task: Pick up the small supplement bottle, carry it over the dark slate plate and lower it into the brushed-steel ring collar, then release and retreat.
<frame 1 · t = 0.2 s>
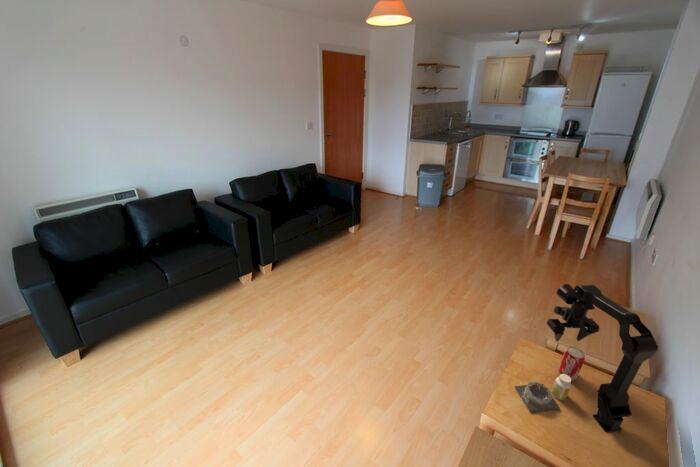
hand: (567, 340, 140), 14 cm above the table, fingers open, 9 cm apart
soda can: (566, 374, 142), on the table
supplement bottle: (558, 394, 133), on the table
collar: (536, 398, 131), on the table
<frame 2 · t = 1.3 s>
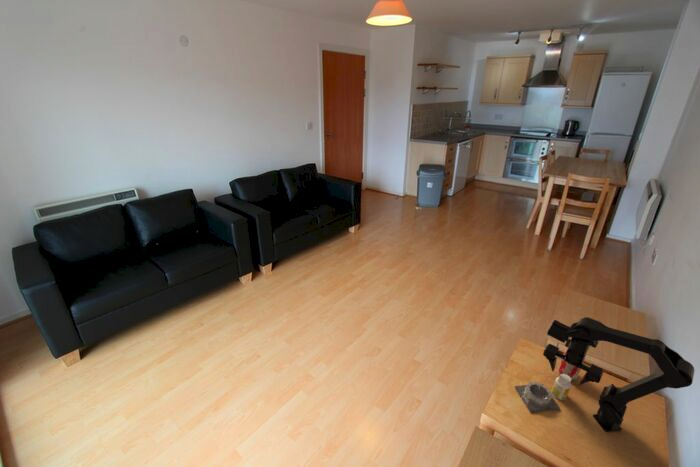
hand: (565, 377, 128), 10 cm above the table, fingers open, 9 cm apart
nothing on the table moved.
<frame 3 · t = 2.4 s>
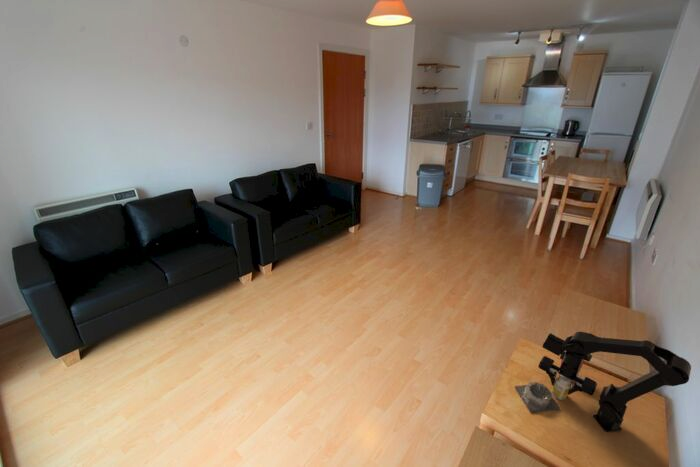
hand: (560, 389, 131), 3 cm above the table, fingers closed on supplement bottle, 5 cm apart
supplement bottle: (558, 394, 133), on the table, touching gripper
everything else where it was.
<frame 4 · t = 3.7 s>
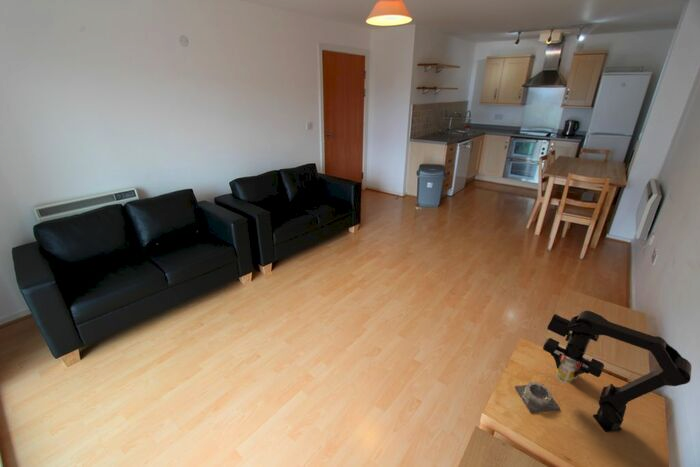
hand: (565, 372, 127), 13 cm above the table, fingers closed on supplement bottle, 5 cm apart
supplement bottle: (563, 378, 128), point 10 cm above the table, touching gripper
everything else where it was.
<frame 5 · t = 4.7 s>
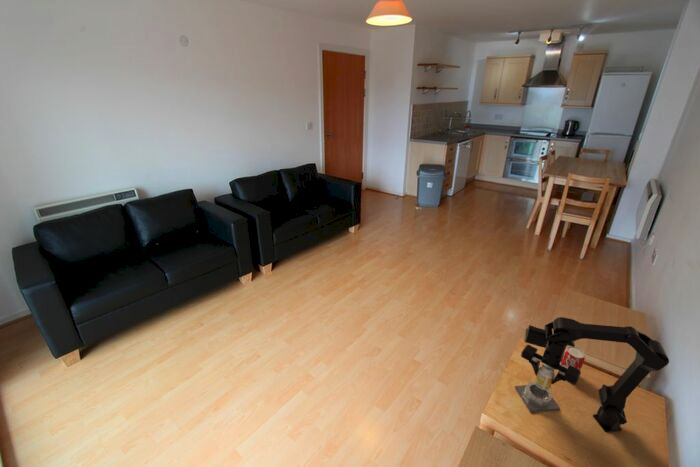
hand: (544, 379, 126), 11 cm above the table, fingers closed on supplement bottle, 5 cm apart
supplement bottle: (542, 384, 127), point 8 cm above the table, touching gripper
everything else where it was.
when the fingers open (5 cm above the table, at t = 6.2 s): supplement bottle stays where it is, resting on collar.
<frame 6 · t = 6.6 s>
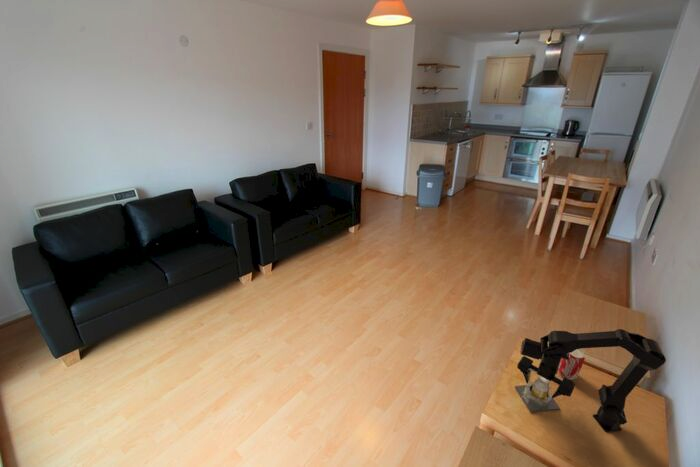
hand: (539, 390, 129), 5 cm above the table, fingers open, 9 cm apart
supplement bottle: (537, 397, 131), point 1 cm above the table, touching collar
everything else where it was.
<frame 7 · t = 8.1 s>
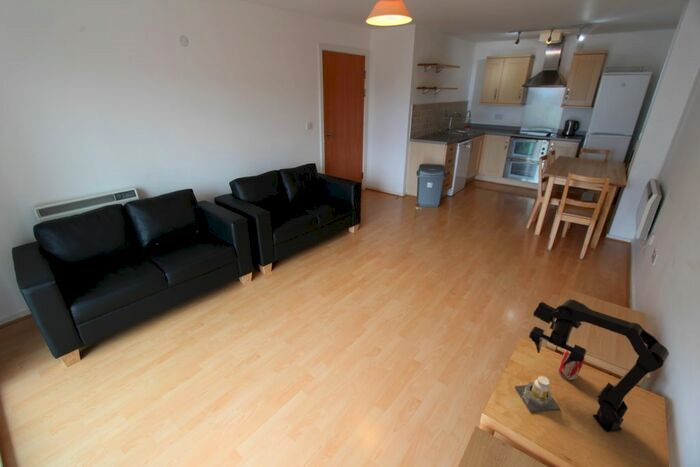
hand: (550, 358, 133), 13 cm above the table, fingers open, 9 cm apart
nothing on the table moved.
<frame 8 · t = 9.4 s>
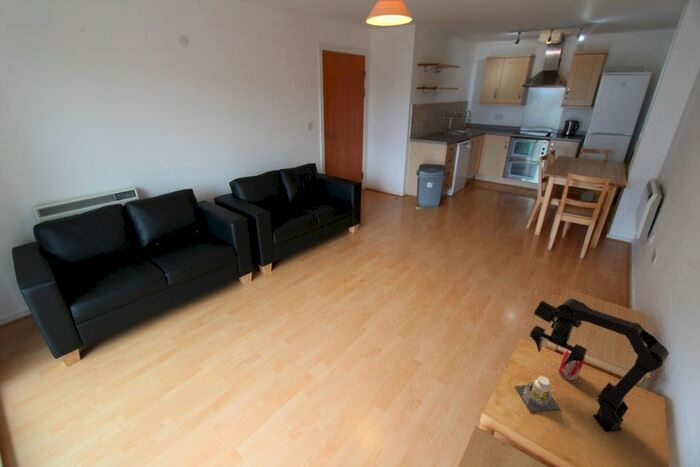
hand: (551, 357, 133), 13 cm above the table, fingers open, 9 cm apart
nothing on the table moved.
at the end: supplement bottle 0.2 cm off-centre on the collar, point 0.8 cm above the collar's base; supplement bottle tilted 0°; the gripper is holding nothing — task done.
